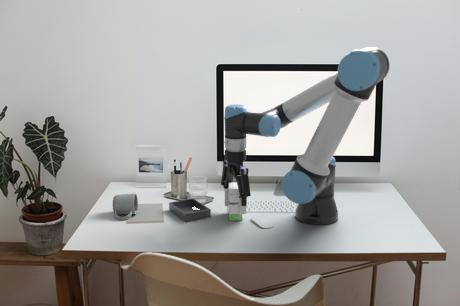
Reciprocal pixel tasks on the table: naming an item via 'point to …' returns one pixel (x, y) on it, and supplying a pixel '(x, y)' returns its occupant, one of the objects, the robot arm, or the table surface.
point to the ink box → (233, 202)
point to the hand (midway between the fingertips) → (235, 209)
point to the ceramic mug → (125, 205)
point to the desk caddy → (189, 210)
